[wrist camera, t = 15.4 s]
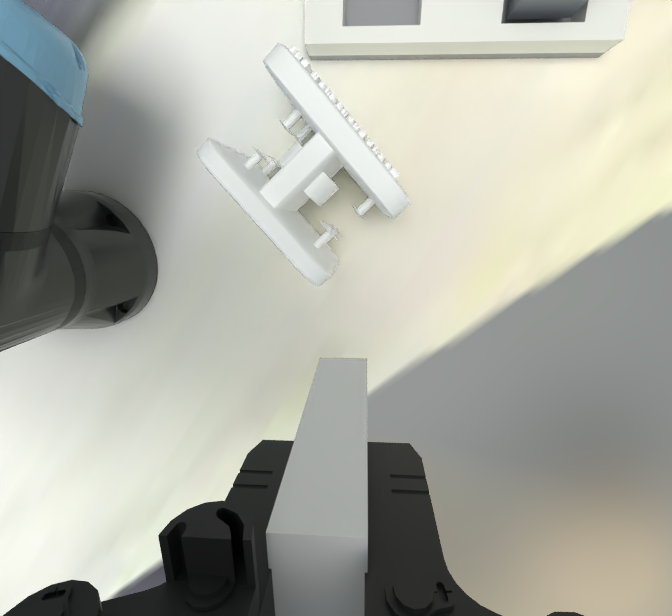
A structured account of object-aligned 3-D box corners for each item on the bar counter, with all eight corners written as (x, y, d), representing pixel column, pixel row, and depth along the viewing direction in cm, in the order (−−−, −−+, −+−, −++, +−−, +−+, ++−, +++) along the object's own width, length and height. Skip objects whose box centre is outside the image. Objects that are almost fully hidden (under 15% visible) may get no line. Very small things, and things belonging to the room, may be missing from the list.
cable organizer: (234, 161, 38) (177, 140, 27) (308, 83, 35) (279, 23, 24) (330, 269, 40) (314, 292, 29) (406, 202, 37) (421, 199, 26)
